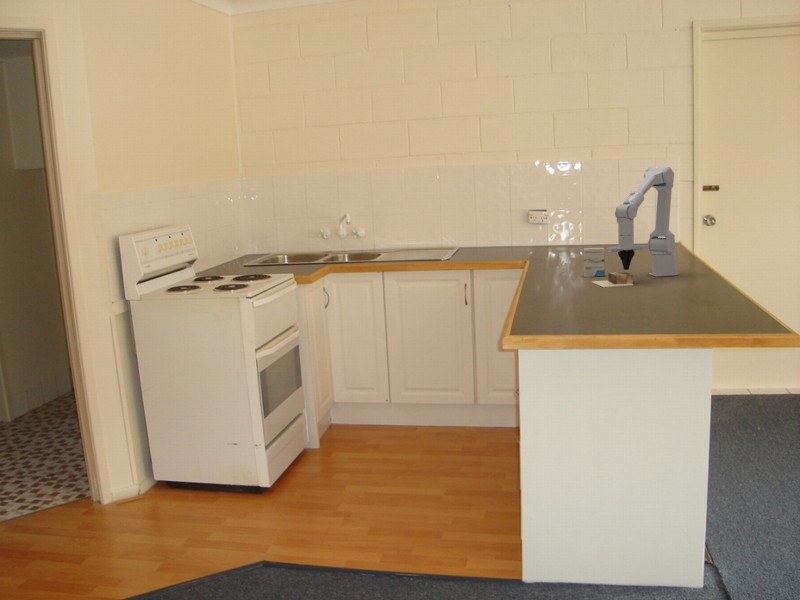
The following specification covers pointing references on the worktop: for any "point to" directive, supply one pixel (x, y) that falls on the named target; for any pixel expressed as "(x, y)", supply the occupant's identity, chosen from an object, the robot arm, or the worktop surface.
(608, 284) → the mat
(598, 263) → the ink box
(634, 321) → the worktop surface
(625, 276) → the oak slab
